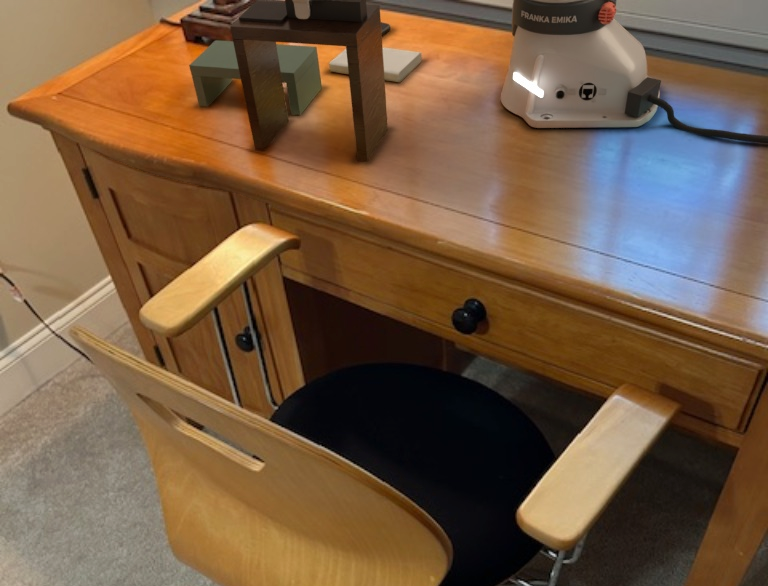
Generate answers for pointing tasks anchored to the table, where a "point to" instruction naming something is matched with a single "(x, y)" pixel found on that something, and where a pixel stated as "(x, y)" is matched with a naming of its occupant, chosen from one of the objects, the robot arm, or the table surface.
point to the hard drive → (385, 63)
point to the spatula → (327, 3)
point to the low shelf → (222, 67)
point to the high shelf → (358, 37)
